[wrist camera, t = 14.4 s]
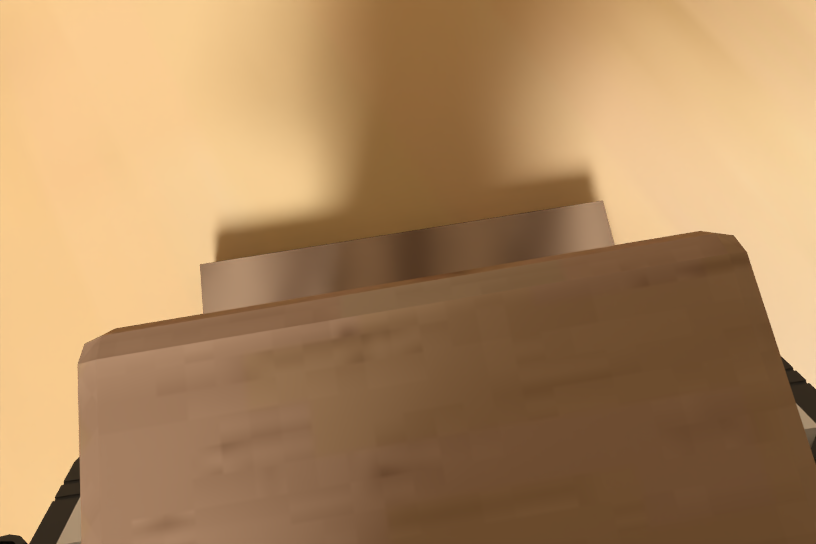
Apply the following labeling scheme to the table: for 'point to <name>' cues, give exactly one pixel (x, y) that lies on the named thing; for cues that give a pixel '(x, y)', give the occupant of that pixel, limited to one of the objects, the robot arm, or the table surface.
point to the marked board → (402, 256)
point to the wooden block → (459, 412)
